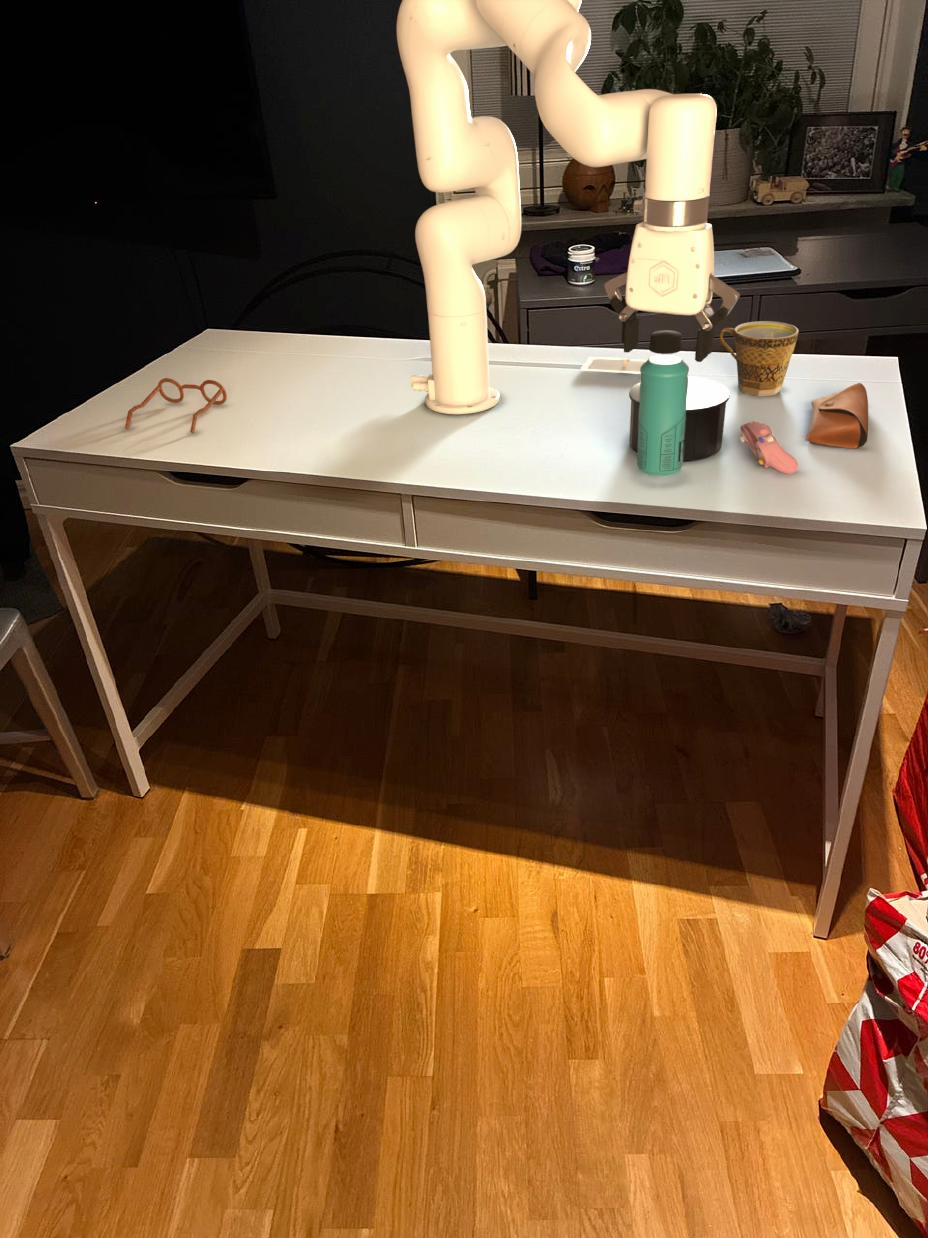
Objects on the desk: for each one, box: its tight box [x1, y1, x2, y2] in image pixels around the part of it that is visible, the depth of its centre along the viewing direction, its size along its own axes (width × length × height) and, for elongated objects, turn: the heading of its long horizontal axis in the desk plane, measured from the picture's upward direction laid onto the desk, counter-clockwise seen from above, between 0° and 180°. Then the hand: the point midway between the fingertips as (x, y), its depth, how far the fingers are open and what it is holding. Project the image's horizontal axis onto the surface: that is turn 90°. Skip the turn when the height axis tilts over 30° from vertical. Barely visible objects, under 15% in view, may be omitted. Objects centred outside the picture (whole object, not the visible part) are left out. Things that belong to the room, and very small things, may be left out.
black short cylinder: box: [629, 400, 727, 463], centre depth 138 cm, size 13×13×8 cm
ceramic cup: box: [719, 320, 800, 397], centre depth 155 cm, size 13×10×10 cm
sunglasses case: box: [805, 382, 869, 450], centre depth 142 cm, size 18×7×7 cm
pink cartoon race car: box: [739, 418, 799, 475], centre depth 131 cm, size 10×5×7 cm, turn 5°
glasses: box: [124, 377, 228, 434], centre depth 160 cm, size 13×13×5 cm
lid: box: [628, 374, 731, 413], centre depth 135 cm, size 14×14×4 cm
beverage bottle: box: [635, 329, 690, 477], centre depth 125 cm, size 6×7×20 cm
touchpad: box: [579, 356, 648, 375], centre depth 168 cm, size 8×15×2 cm, turn 70°
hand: (665, 353), depth 122 cm, fingers open, 9 cm apart
